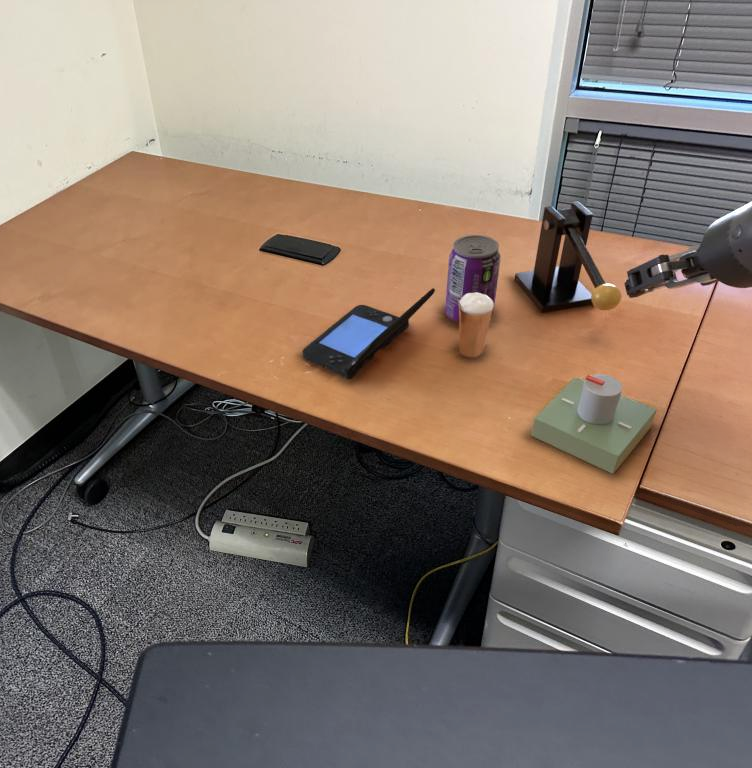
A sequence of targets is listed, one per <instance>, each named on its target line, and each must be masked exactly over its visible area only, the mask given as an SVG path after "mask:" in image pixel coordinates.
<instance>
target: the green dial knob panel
mask: <svg viewBox="0 0 752 768" xmlns="http://www.w3.org/2000/svg"><path fill="white" fill-rule="evenodd" d="M584 381H585V379H582V378H580V377H577V376H574V377H573V378H572V379H571V380H570V381H569V382H568V383H567V384H566V385H565V386H564V387H563V388H562V389H561V390H560V391H559V393H557V394H556V395H555V396H554V398H552V399H551V400H550V402H549V403H547V405H546V406H545V407H544V408H543V409H542V410H541V411H540V412H539V413H538V414H537V415H536V416H535V417H534V419H533V423H532V424H533V425H532V429H531V435H530V437H533V438H534V439H537V440H539V441H541V442H544V443H545V444H547V445H550V446H552V447H554V448H555V449H559V450H561V451H563V452H565V453H567V454H568V455H569V454H570V455H571V456H573V457H575V458H577V459H580V460H582V461H584V462H585V463H589V464H590V465H592V466H595V467H597V468H599V469H601V470H603V471H606V472H608V473H609V474H612V475H614V474H615V472H616V471H617V470H618V468H619V467H620V466H621V465H622V464H623V462H625V460H626V459H627V458H628V456H630V454H631V452H632V451H633V450H634V449H635V448H636V446H637V445H639V443H640V441H641V440H642V439H643V438H644V437H645V435H646V434H647V433H648V431H650V429H651V428H652V425H653V422H654V420H655V417H656V414H657V412H658V409H657V408H654V407H652V406H649V405H648V404H645V403H642V402H639V401H638V400H634V399H632V398H629V397H627V396H625V395H622V394H621V396H620V399H619V403H618V406H617V409H616V412H615V416H614V419H613V420H612V421H611V422H609V423H607V424H602V425H597V424H592V423H589V422H586V421H584V420H583V419H582V418H581V417H580V416H579V415H578V413H577V409H578V405H579V401H580V397H581V393H582V389H583V385H584Z"/></svg>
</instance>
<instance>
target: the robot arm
mask: <svg viewBox="0 0 752 768" xmlns="http://www.w3.org/2000/svg"><path fill="white" fill-rule="evenodd" d="M677 272H681V274H682V276H683V278H685V279H681V280H678V277H677V274H676V273H677ZM626 274H627V279H626V281H625V282H624V283H623V284H624V288H625V293H626V296H628V297H629V299H634V298H638V297H641V296H644V295H646V294H647V293H652V292H654V291H656V290H660V289H664V288H667V289H672V290H677V289H680V288H683V287H684V288H685V287H687V286H690V285H695V284H700V285H701V286H702V287H704V286H705V287H706V286H711V285H713V284H715V283H718V282H719V283H721V284H723V285H726V286H728V287H732V288H736V289H748V288H752V201H750V202H748V203H747V204H745V205H742V206H741V207H739V208H736V209H735V210H733V211H731V212H730V213H727V214H725V215H724V216H722V217H719V218H718V219H716V220H715V221H713V222H712V223H711V224H710V225H709V226H708V227H707V229H706V230H705V232H704V234H703V236H702V239H701V240H700V243H697V244H695V245H692V246H690V247H688V249H686V250H684V251H680V252H677V253H675V254H671V255H669V254H659V255H658V256H656V257H654V258H652V259H650V260H647V261H646V262H644V263H642V264H640V265H637V266H635V267H633V268H630V269H629V270H627V271H626Z"/></svg>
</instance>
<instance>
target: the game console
mask: <svg viewBox="0 0 752 768" xmlns="http://www.w3.org/2000/svg"><path fill="white" fill-rule="evenodd" d="M435 292H436V289H435V288H434V287H433V288H431V289H429V290H428V291H427V292H426V293H425V294H424V295H423V296H421V297H420V299H418V300H417V301H416V302H415V303H414V304H413V305H411V306H410V307H409V308H408V309H407V310H405V312H403V313H402V314H401V315H400V316H398V315H394V314H392V313H389V312H386V311H384V310H381V309H378V308H374V307H372V306H369V305H366V304H358V305H355V306H354V307H353V308H352V309H350V310H349V311H348V312H347V313H346V314H344V315H343V316H342V317H340V319H338V320H337V321H336V322H335V323H333V324H332V325H331V326H329V327H328V328H327V329H326V330H325V331H323V332H322V333H321V334H320V335H319V336H318V337H316V338H314V340H313V341H311V342H310V343H309V344H308V345H306V346H305V347H304V348H303V349H302V352H301V353H302V355H301V356H302V357H303V359H304V360H305V361H308V362H309V363H312V364H314V365H316V366H319V367H321V368H323V369H325V368H326V370H328V371H331V372H332V373H334V374H337V375H339V376H340V377H344V378H345V379H346V380H351V379H353V378H354V377H355V376H356V375H357V374H358V373H359V372H360V371H361V370H362V369H363V368H364V367H365V366H367V364H369V362H371V361H372V360H373V359H374V358H375V355H376V354H377V353H378V352H380V350H382V349H385V347H388V345H390V344H391V343H392V342H393V341H394V340H395V339H396V338H397V337H399V336H400V335H401V334H402V333H404V332H405V331H407V329H408V328H409V326H410V319H411V318H412V317H413V316H414V315H415V314H416V313H417V312H418V311H419V310H420V308H422V306H424V304H425V303H427V301H429V299H430V298H431V297H432V296H433V295H434V294H435Z"/></svg>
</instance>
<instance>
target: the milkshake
mask: <svg viewBox="0 0 752 768" xmlns="http://www.w3.org/2000/svg"><path fill="white" fill-rule="evenodd" d="M457 301H458V303H459V322H458V350H459V353H460V355H462V356H464V357H465V358H473V359H474V358H478V357H481V355H482V354H483V352H484V349H485V344H486V340H487V336H488V331H489V327H490V322H491V319H492V317H491V315H492V311H493V307H494V308H495V305H494V303H493V301H492V300H491V299H490V298H489V297H488V296H487V295H484V294H481V293H477V292H476V293H467V294H466V295H464V296H463V297H462V298H461V299H460V301H459V300H458V298H457ZM492 316H493V315H492Z"/></svg>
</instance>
